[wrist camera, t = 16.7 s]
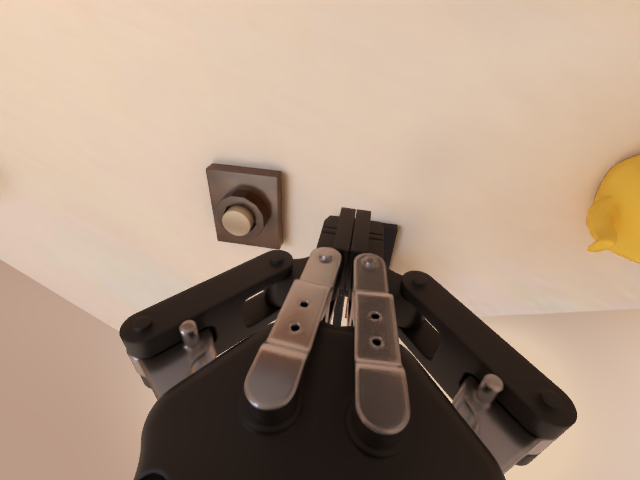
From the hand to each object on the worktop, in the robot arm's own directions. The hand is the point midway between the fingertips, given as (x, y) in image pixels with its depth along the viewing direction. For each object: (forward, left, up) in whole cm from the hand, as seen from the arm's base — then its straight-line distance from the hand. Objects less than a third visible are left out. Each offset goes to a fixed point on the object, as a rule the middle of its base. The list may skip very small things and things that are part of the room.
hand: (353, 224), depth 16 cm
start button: (+5, -21, -22) cm, 31 cm away
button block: (+5, -21, -26) cm, 34 cm away
